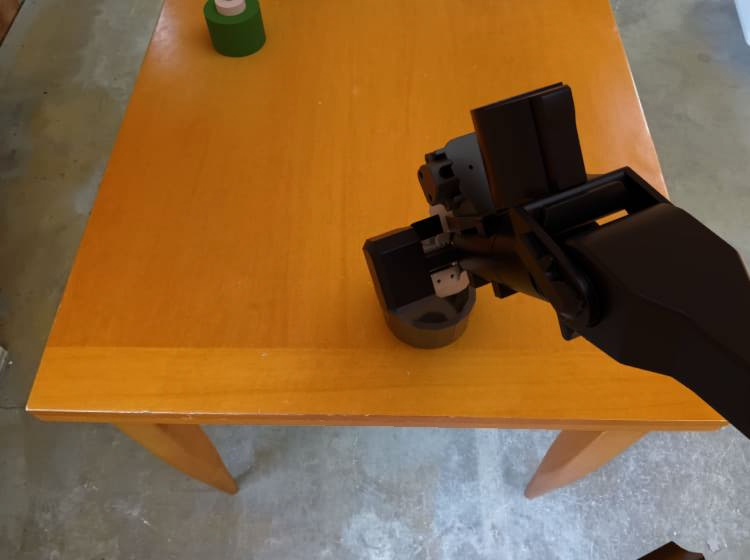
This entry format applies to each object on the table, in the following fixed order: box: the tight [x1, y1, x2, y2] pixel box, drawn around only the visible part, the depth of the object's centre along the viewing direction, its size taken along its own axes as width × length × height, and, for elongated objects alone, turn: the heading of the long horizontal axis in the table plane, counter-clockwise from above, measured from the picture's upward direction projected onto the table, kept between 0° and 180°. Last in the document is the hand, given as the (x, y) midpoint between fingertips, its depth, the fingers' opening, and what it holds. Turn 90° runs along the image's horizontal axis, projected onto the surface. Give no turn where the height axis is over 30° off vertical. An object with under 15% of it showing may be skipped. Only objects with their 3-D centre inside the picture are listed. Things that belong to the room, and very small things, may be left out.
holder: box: [382, 283, 477, 350], centre depth 61 cm, size 10×10×4 cm
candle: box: [202, 0, 267, 58], centre depth 84 cm, size 8×8×10 cm
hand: (441, 232), depth 54 cm, fingers closed on salt shaker, 3 cm apart
